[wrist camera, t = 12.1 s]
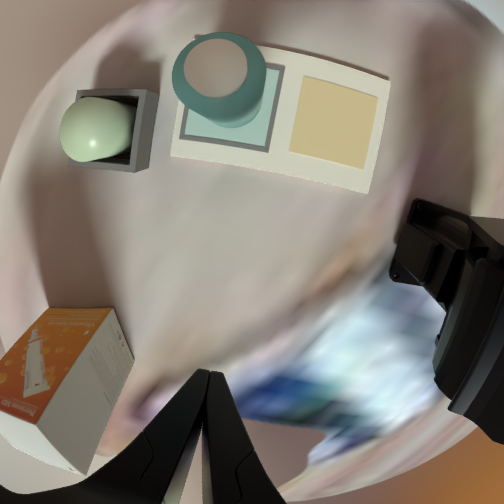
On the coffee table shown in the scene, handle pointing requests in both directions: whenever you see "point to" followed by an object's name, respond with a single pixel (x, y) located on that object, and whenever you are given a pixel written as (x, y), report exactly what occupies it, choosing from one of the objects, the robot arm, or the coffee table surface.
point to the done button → (97, 129)
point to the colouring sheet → (298, 124)
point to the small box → (63, 385)
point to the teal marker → (221, 78)
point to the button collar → (141, 129)
